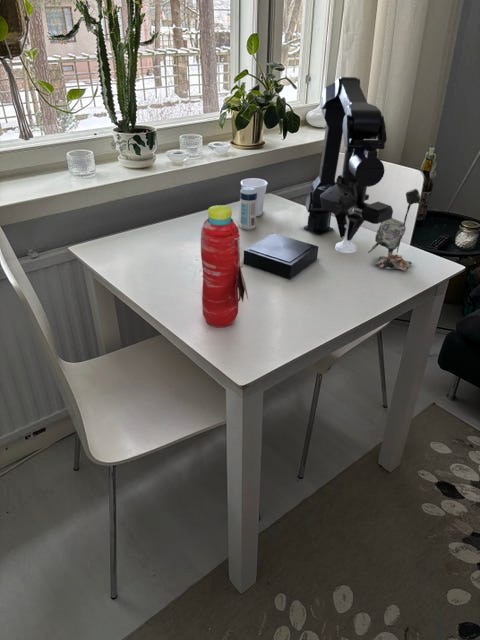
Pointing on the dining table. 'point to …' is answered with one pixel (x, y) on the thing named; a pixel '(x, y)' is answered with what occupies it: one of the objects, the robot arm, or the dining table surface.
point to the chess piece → (345, 244)
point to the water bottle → (221, 267)
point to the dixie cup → (260, 189)
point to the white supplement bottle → (248, 207)
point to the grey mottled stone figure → (394, 237)
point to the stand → (280, 255)
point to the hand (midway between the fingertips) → (345, 238)
